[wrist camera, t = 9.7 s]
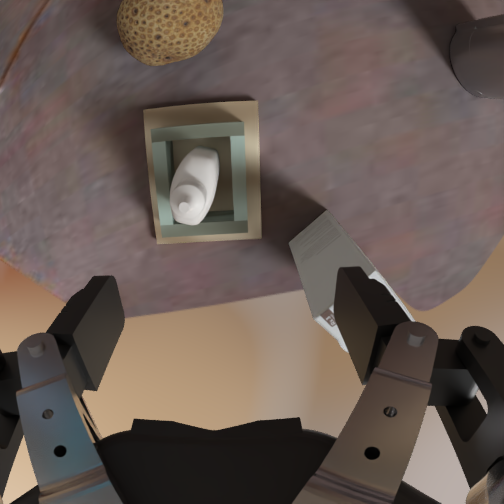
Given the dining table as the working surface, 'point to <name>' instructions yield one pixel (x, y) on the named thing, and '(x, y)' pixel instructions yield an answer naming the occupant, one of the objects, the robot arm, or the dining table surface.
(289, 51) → the dining table surface
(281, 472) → the robot arm
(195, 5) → the natural sponge
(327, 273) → the skincare box
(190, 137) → the frame
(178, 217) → the eye dropper bottle
